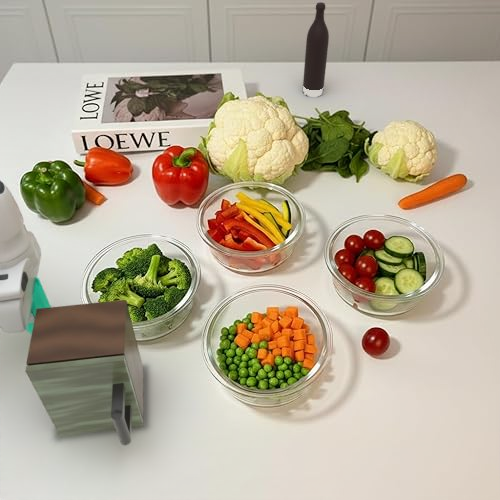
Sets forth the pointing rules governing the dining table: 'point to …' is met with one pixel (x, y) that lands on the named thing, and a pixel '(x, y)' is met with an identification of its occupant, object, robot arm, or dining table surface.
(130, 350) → the cupboard
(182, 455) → the dining table surface
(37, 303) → the candle
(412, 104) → the dining table surface
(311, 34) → the wine bottle
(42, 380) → the cupboard door
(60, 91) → the dining table surface
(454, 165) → the dining table surface
